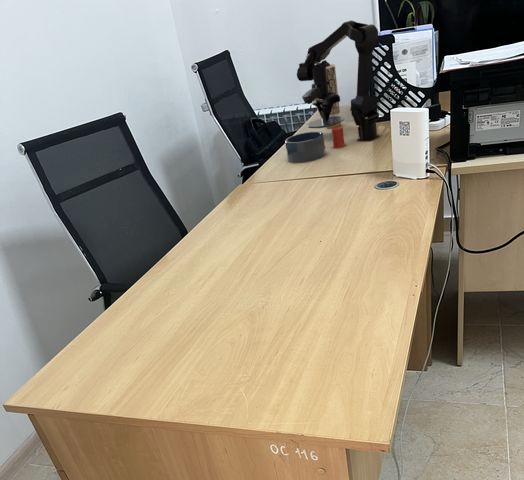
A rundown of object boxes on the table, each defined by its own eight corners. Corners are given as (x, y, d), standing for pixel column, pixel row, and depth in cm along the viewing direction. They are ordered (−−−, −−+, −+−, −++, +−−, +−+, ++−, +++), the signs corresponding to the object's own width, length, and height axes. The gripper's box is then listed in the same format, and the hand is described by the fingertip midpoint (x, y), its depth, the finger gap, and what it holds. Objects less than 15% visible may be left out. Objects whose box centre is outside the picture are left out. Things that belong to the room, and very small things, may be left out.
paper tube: (340, 127, 243) (334, 65, 229) (325, 129, 245) (318, 68, 231) (341, 123, 248) (335, 63, 235) (327, 126, 250) (319, 66, 236)
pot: (328, 149, 216) (325, 129, 212) (321, 160, 204) (319, 139, 200) (293, 153, 220) (290, 134, 216) (284, 164, 209) (281, 144, 205)
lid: (347, 117, 233) (345, 104, 230) (341, 126, 221) (339, 112, 218) (311, 122, 238) (309, 110, 235) (303, 131, 226) (301, 118, 223)
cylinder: (346, 144, 216) (344, 126, 212) (340, 148, 213) (338, 129, 210) (337, 144, 219) (335, 126, 215) (331, 148, 216) (329, 129, 212)
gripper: (292, 84, 226) (298, 123, 234) (314, 85, 211) (319, 127, 219) (316, 77, 229) (320, 116, 237) (338, 78, 213) (343, 120, 222)
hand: (325, 120), depth 229 cm, fingers closed on lid, 3 cm apart
